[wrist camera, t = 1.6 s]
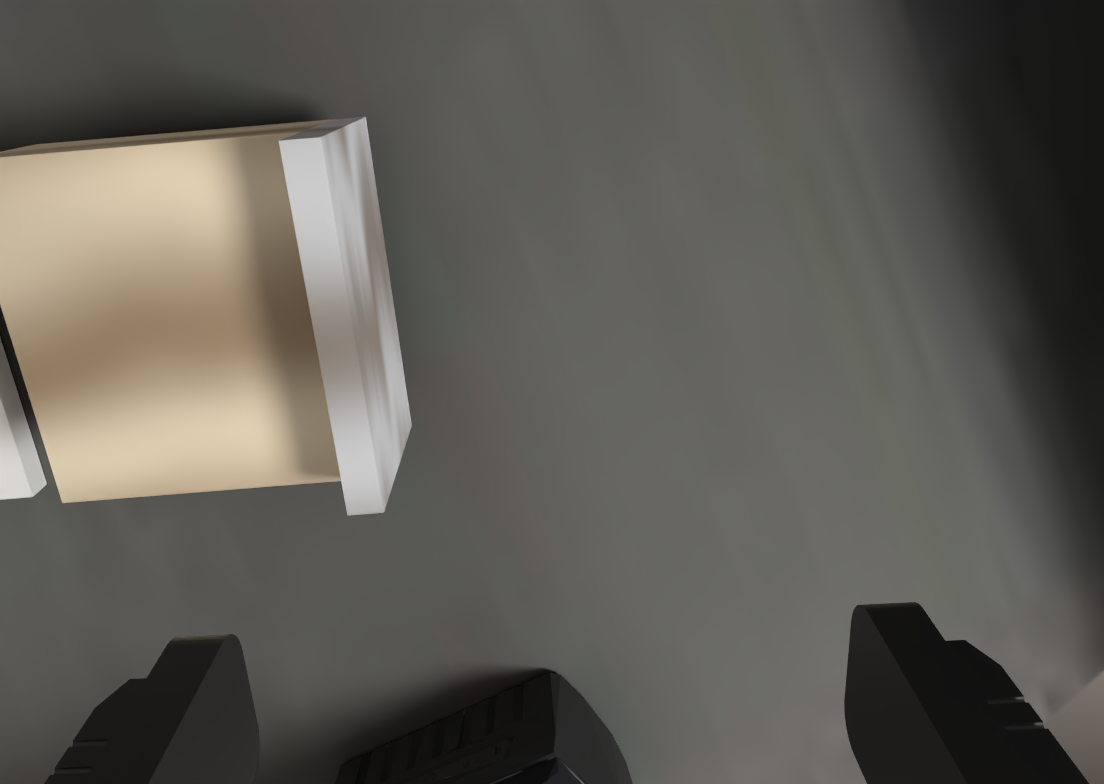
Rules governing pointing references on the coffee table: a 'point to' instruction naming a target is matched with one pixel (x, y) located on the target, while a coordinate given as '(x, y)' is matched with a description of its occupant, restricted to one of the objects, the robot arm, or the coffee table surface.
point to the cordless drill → (503, 744)
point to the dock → (16, 442)
